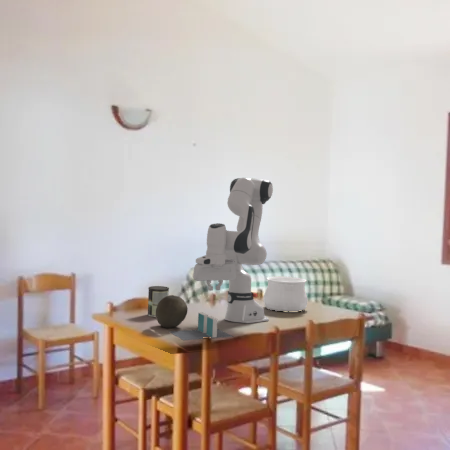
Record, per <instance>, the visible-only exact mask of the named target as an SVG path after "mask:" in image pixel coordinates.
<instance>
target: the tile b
mask: <svg viewBox="0 0 450 450" xmlns="http://www.w3.org/2000/svg"><path fill="white" fill-rule="evenodd" d="M217 329H218V318H216V317H214V316H212V315H211V316H210V315H208V316H207V333H206V334H207V335H209V336H211V337H217Z"/></svg>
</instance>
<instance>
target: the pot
mask: <svg viewBox="0 0 450 450" xmlns="http://www.w3.org/2000/svg"><path fill="white" fill-rule="evenodd" d="M266 280H267V287H266V289H265V291H264V294H263V305H264V306H265V308H266V309H268V310H269V309H270V310H269V311H272V310H275V311H274V312H277V311H299V310H303V309H304V310H305V309H306V308H307V306H308V295H307V293H306V290H305V289H306V288H305V283H306V282H307V279H305V278H302V277H296V276H295V277H294V276H268V277H266ZM304 310H303V311H304Z"/></svg>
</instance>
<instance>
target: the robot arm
mask: <svg viewBox="0 0 450 450" xmlns="http://www.w3.org/2000/svg"><path fill="white" fill-rule="evenodd" d="M273 188H274V187H273V183H272V182H271V181H270V180H267V179H259V178H253V177H252V178H251V177H250V178H249V177H248V178H247V177H238V178H234V179H233V180H231V182H230V186H229V195H228V198H227V207H228V209H229V211H230V212H231V213H232V214H234V215H235V216H238V222H237V226H236V231H235V230H227V229H226V225H225V224H224V223H211V224H210V225H209V226H208V229H207V233H206V247H207V248H206V251H205V255H203V256H200V257H197V258H196V259H195V263H196V264H195V265H194V267H193V274H192V275H193V276H192V277H193V280H195V281H197V282H204V281H205V282H206V285H207V287H208V288H207V289H208V291H213V290H214V286H213V285H212V284H211V283H212V281H217V282H218V284H217V285H215V290H216V291H221V286H222V285H223V283H224V281H228V291H227V306H226V312H225V315H224V317H223V319H224V320H226V321H227V322H232V323H243V324H252V323H260V322H268V321H269V317H268V316H266V315H265V310H264V307H263V306H262V305H261V304H260V303H258V302H257V301H256V300H255V299H254V298H257V297H258V293H256V292H252V276H251V275H250V273H248V272H247V271H245V269H244V268H243V265H245V266H246V265H248V266H257V265H259V266H260V265H263V264H264V262H265V261H266V259H267V255H268V254H267V249H266V247H265V246H264V245H263V244H262V242H261V241H260V238H259V230H260V225H261V222H262V217H263V216H262V214H263V205H265V204H266V203H267V202H268V201H269V200H270V199H271V197H273V191H274V189H273Z"/></svg>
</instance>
